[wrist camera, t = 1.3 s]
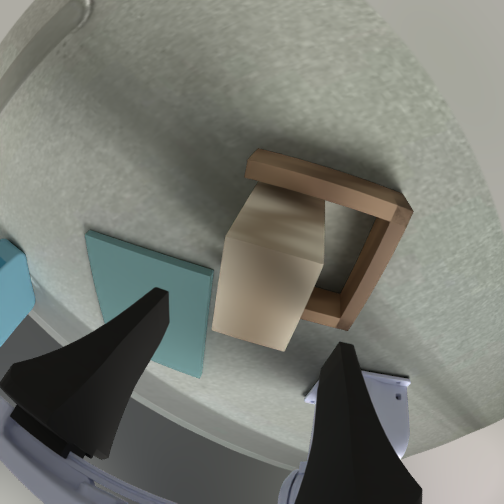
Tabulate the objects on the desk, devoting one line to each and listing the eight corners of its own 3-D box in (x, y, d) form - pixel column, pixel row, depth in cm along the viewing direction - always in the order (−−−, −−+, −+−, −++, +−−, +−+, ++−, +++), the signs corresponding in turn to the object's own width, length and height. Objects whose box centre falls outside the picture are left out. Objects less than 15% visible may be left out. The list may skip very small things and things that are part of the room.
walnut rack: (402, 193, 15) (413, 211, 13) (347, 306, 21) (347, 331, 19) (258, 148, 16) (247, 159, 14) (233, 273, 22) (223, 296, 20)
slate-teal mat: (213, 270, 22) (210, 276, 21) (201, 373, 31) (199, 378, 30) (90, 229, 23) (84, 234, 22) (113, 337, 32) (110, 342, 31)
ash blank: (324, 195, 17) (323, 264, 11) (298, 272, 20) (284, 351, 15) (260, 177, 17) (225, 236, 11) (243, 256, 21) (211, 330, 15)
